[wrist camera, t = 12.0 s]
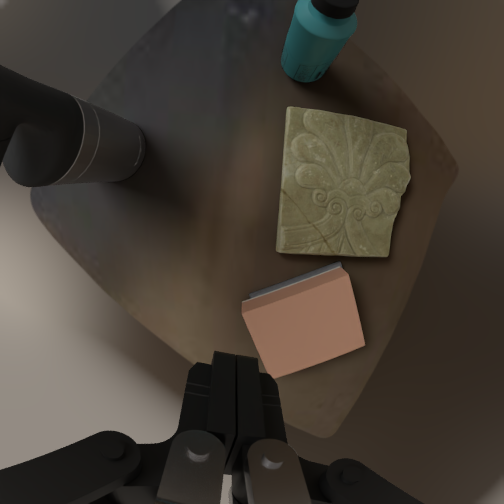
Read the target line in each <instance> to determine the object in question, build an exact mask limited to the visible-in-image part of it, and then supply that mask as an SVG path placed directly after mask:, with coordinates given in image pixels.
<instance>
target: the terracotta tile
mask: <svg viewBox="0 0 504 504" xmlns="http://www.w3.org/2000/svg"><path fill="white" fill-rule="evenodd" d="M242 316H243V318H244V320H245V323H246V325H247V327H248V330H249V332H250V334H251V336H252V339H253V341H254V343H255V346H256V348H257V350H258V352H259V355H260V357H261V359H262V361H263V364H264V366H265V368H266V370H267V372H268V374H270V375H271V376H272V378H273V379H274V378H277V377H281V376H284V375H287V374H290V373H293V372H296V371H299V370H302V369H305V368H308V367H311V366H313V365H316V364H319V363H322V362H324V361H327V360H330V359H332V358H335V357H338V356H340V355H343V354H345V353H348V352H350V351H353V350H355V349H358V348H360V347H362V346H365V342H364V337H363V332H362V328H361V323H360V319H359V315H358V310H357V306H356V302H355V298H354V294H353V290H352V286H351V282H350V278H349V274H348V273H346V272H345V271H344V270H343V269H342V268H341V267H340V266H339V267H336V268H334V269H331V270H328V271H326V272H323V273H320V274H318V275H315V276H312V277H310V278H307V279H304V280H302V281H299V282H296V283H293V284H291V285H288V286H285V287H282V288H280V289H277V290H274V291H271V292H268V293H265V294H263V295H260V296H257V297H254V298H251V299H248V300H245V301H242Z"/></svg>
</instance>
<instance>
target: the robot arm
mask: <svg viewBox="0 0 504 504" xmlns="http://www.w3.org/2000/svg"><path fill="white" fill-rule="evenodd" d="M145 147H146V145H145V138H144V136H143V133H142V131H141V130H140V128H139V127H138V126H137V125H136V124H134V123H132V122H130V121H128V120H126V119H124V118H122V117H120V116H118V115H116V114H114V113H111V112H109V111H107V110H105V109H102V108H100V107H98V106H96V105H93V104H91V103H89V102H87V101H84V100H82V99H79V98H77V97H75V96H72V95H70V94H68V93H65V92H63V91H60V90H57V89H55V88H52V87H50V86H47V85H44V84H42V83H39V82H37V81H34V80H32V79H29V78H27V77H25V76H23V75H21V74H19V73H16V72H14V71H12V70H10V69H8V68H6V67H4V66H2V65H0V166H1V163H2V161H3V164H4V167H5V169H6V171H7V173H8V175H9V176H10V177H11V178H12V179H13V180H14V181H15V182H16V183H18V184H20V185H23V186H26V187H40V186H50V185H62V184H75V183H93V182H116V181H122V180H124V179H127V178H128V177H130V176H132V175H133V174H134V173H135V172H136V171H137V169H138V168H139V167H140V165H141V163H142V161H143V159H144V155H145ZM280 406H281V403H280V398H279V391H278V386H277V383H276V382H275V380H274V379H273V378H272V376H271V375H270V374H267V373H259V366H258V359H257V358H254V357H248V356H241V355H236V357H235V354H229V353H224V352H218V351H214V354H213V359H212V363H211V365H210V364H205V363H200V362H197V363H196V364H195V365H194V366H193V367H192V368H191V369H190V370H189V374H188V378H187V383H186V388H185V393H184V398H183V404H182V409H181V414H180V420H179V425H178V429H177V431H176V433H175V434H174V435H173V436H172V437H171V438H170V439H168V440H166V441H164V442H161V443H155V444H136V442H135V441H134V440H133V439H132V438H130V437H129V436H127V435H125V434H123V433H120V432H117V431H102V432H99V433H96V434H94V435H92V436H89V437H87V438H85V439H83V440H80V441H78V442H75V443H73V444H71V445H69V446H66V447H63V448H61V449H58V450H56V451H53V452H51V453H48V454H45V455H43V456H40V457H37V458H35V459H32V460H29V461H26V462H23V463H20V464H17V465H14V466H11V467H8V468H5V469H2V470H0V504H220V500H221V491H222V483H223V474H228V475H232V486H231V488H230V490H229V504H423V503H422V502H420V501H418V500H417V499H415V498H414V497H412V496H410V495H409V494H407V493H406V492H404V491H402V490H401V489H399V488H398V487H396V486H395V485H393V484H391V483H390V482H388V481H387V480H385V479H384V478H382V477H381V476H379V475H378V474H376V473H375V472H374V471H372V470H370V469H369V468H368V467H366V466H365V465H363V464H362V463H360V462H359V461H356V460H353V459H348V458H344V459H338V460H336V461H334V462H333V463H331V464H330V466H327V465H323V464H319V463H315V462H311V461H308V460H305V459H303V458H301V457H299V456H298V455H297V453H296V452H295V450H294V449H293V448H292V447H291V446H290V445H288V443H287V438H286V432H285V427H284V421H283V415H282V409H281V407H280Z"/></svg>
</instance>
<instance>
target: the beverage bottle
mask: <svg viewBox="0 0 504 504" xmlns="http://www.w3.org/2000/svg"><path fill="white" fill-rule="evenodd" d="M358 3H359V0H299V1H298V2H297V4H296V6H295V12H294V15H293V19H292V22H291V26H290V29H289V31H288V35H287V38H286V37H285V38H286V42H285V46H284V50H283V49H282V50H283V51H282V52H283V53H282V57H281V56H280V57H281V62H280V63H281V65H282V67H283V69H284V71H285V72H286V74H287V75H288V76H290V77H291V78H292V79H294V80H297V81H300V82H312V81H315V80H318V79H319V78H320V77H321V76H322V75H323V74H324V72H325V71H326V70H327V69H329V68H330V67H329V66H330V64H331V63H332V62H333V60H334V59H335V57H336V56H338V55H339V54H338V53H339V52H340V50H341V49H342V47H343V46H344V44H345V43H346V41H347V40H348V39H349V37H350V36H351V35H352V34H353V33H354V32H355V30H356V27H357V18H356V15H355V13H354V12H355V10H356V7H357V4H358ZM335 60H336V59H335ZM332 64H333V63H332ZM326 72H327V71H326ZM326 72H325V73H326Z"/></svg>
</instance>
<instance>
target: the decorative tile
mask: <svg viewBox="0 0 504 504" xmlns="http://www.w3.org/2000/svg"><path fill="white" fill-rule="evenodd" d="M406 134H407V131H406V130H405V129H402V128H399V127H395V126H391V125H388V124H384V123H379V122H375V121H372V120H368V119H364V118H360V117H356V116H351V115H343V114H337V113H332V112H327V111H321V110H313V109H305V108H299V107H292V106H291V107H288V108H287V110H286V121H285V136H284V150H283V164H282V178H281V191H280V202H279V214H278V225H277V238H276V251H277V252H279V253H288V254H311V255H332V256H333V255H341V256H356V257H388V255H389V249H390V238H391V232H392V227H393V222H394V218H395V217H396V215H397V212H398V210H399V209H400V201H401V195H402V194H403V193H404V192H405V191H406V186H407V184H408V182H409V181H410V179H411V176H410V173H409V158H410V156H409V150H408V145H407V143H406Z"/></svg>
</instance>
